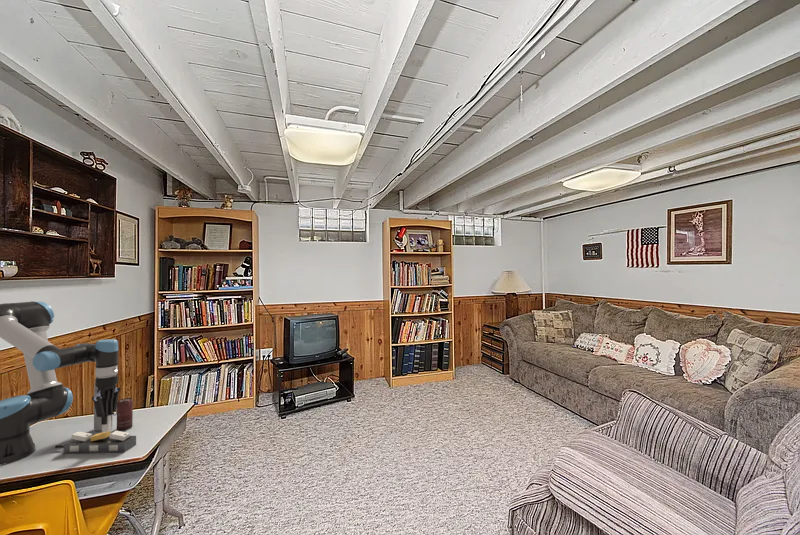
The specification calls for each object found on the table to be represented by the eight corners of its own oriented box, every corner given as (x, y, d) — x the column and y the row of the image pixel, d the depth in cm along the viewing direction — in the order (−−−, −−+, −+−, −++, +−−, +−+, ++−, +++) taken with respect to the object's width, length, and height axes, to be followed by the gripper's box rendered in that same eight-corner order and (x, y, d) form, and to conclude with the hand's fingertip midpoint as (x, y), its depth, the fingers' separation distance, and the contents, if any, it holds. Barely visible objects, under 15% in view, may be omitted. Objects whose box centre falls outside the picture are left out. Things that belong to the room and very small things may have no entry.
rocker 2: (109, 438, 152) (110, 433, 152) (115, 434, 155) (116, 430, 155) (123, 440, 152) (124, 436, 152) (128, 437, 155) (129, 433, 155)
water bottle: (97, 433, 169) (97, 380, 169) (90, 429, 173) (91, 377, 173) (120, 426, 177) (120, 375, 177) (113, 422, 181) (114, 373, 181)
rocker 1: (70, 438, 151) (71, 434, 151) (77, 435, 155) (78, 431, 155) (85, 441, 151) (86, 437, 152) (91, 438, 155) (92, 433, 155)
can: (124, 431, 170) (124, 402, 171) (113, 430, 172) (113, 401, 172) (136, 426, 176) (136, 397, 177) (125, 425, 178) (125, 397, 178)
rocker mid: (91, 441, 152) (90, 437, 152) (97, 437, 155) (96, 433, 155) (105, 438, 152) (104, 433, 152) (111, 434, 155) (110, 430, 155)
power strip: (48, 454, 149) (48, 444, 149) (63, 446, 156) (63, 436, 156) (124, 452, 150) (124, 443, 150) (136, 444, 157) (136, 435, 157)
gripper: (103, 380, 147) (103, 437, 147) (126, 371, 160) (126, 424, 160) (85, 380, 147) (84, 438, 147) (109, 371, 160) (109, 424, 160)
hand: (106, 430), depth 153 cm, fingers closed
